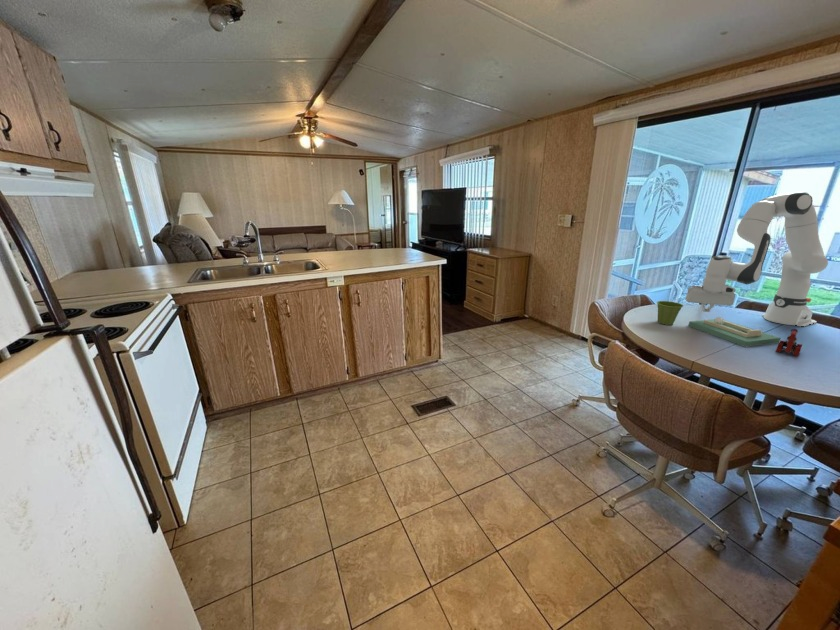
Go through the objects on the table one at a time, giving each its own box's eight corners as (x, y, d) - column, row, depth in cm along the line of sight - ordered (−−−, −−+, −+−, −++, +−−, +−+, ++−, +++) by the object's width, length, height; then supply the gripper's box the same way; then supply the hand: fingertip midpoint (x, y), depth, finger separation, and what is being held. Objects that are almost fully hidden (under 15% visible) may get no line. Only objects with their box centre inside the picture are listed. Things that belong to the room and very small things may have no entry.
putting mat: (688, 325, 180) (690, 316, 179) (718, 322, 184) (721, 313, 182) (744, 346, 154) (748, 335, 153) (778, 342, 158) (782, 332, 156)
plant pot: (683, 326, 180) (689, 306, 176) (661, 327, 180) (666, 307, 176) (668, 319, 191) (672, 300, 187) (647, 319, 191) (651, 300, 187)
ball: (717, 322, 177) (719, 315, 176) (724, 325, 173) (727, 318, 172) (710, 323, 176) (712, 316, 175) (718, 326, 173) (720, 318, 171)
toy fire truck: (800, 350, 150) (808, 329, 146) (797, 358, 142) (806, 336, 139) (778, 346, 155) (786, 325, 152) (774, 353, 148) (782, 331, 144)
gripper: (691, 286, 176) (684, 311, 181) (739, 289, 170) (731, 315, 174) (687, 283, 182) (680, 307, 186) (733, 286, 175) (725, 311, 180)
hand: (705, 311), depth 180 cm, fingers closed
